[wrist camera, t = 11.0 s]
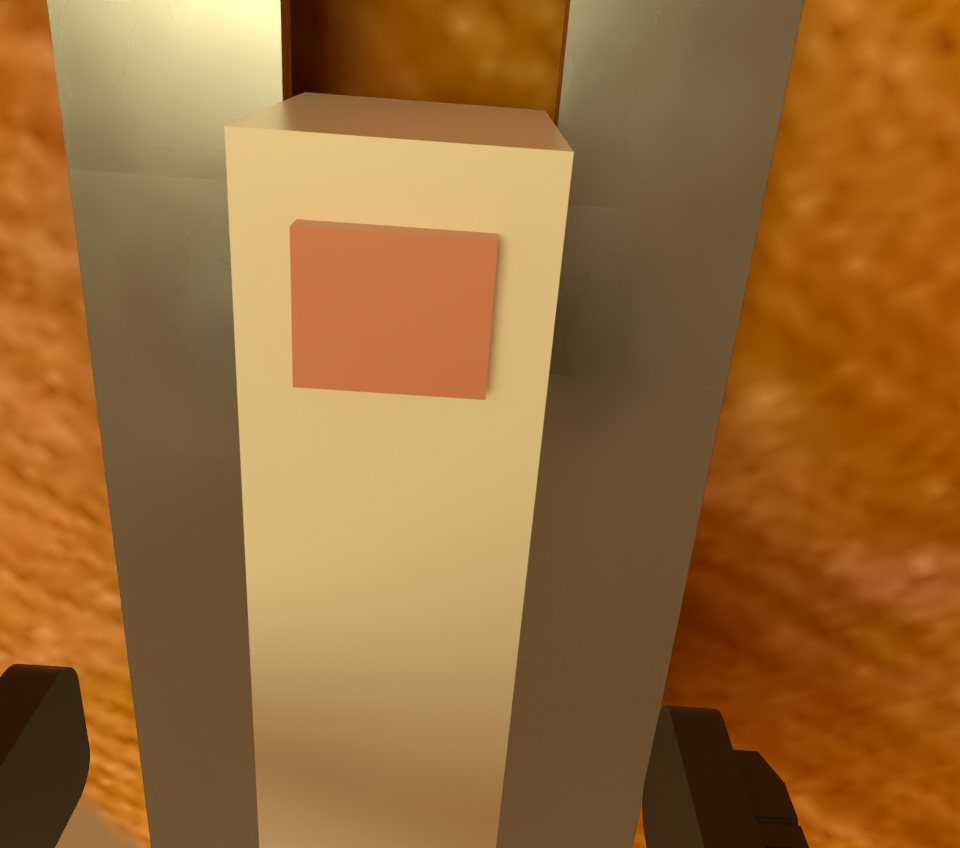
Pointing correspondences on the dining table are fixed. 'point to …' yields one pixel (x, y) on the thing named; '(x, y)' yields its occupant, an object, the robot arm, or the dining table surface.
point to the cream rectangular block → (389, 452)
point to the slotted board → (569, 402)
